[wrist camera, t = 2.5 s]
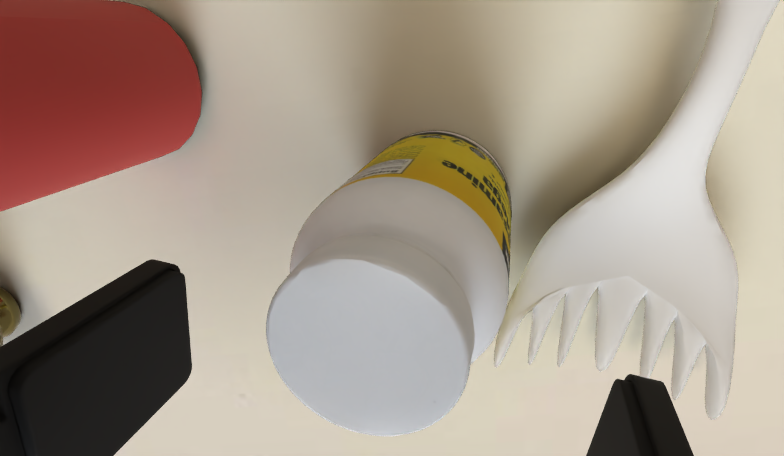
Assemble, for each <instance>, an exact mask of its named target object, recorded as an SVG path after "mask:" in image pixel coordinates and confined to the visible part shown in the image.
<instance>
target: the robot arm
mask: <svg viewBox="0 0 784 456" xmlns="http://www.w3.org/2000/svg"><path fill="white" fill-rule="evenodd" d="M191 369H192V362H191V349H190V336H189V323H188V310H187V297H186V284H185V277H184V275H183V274H182V273H180V269H179V268H178V266H176V265H174V264H170V263H166V262H162V261H158V260H148V261H146V262H144V263H143V264H141V265H139V266H138V267H136V268H134V269H133V270H131V271H129V272H127V273H126V274H124V275H122V276H121V277H119V278H117V279H116V280H114V281H112V282H110V283H109V284H107V285H105V286H104V287H102V288H100V289H99V290H97V291H95V292H93V293H92V294H90V295H88V296H87V297H85V298H83V299H82V300H80V301H78V302H76V303H75V304H73V305H71V306H70V307H68V308H66V309H65V310H63V311H61V312H59V313H58V314H56V315H54V316H53V317H51V318H49V319H48V320H46V321H44V322H42V323H41V324H39V325H37V326H36V327H34V328H32V329H31V330H29V331H27V332H25V333H24V334H22V335H20V336H19V337H17V338H15V339H14V340H12V341H10V342H8V343H7V344H5V345H3V346H2V347H0V456H113V455H114V454H115V453H116V452H117V451H118V450H119V449H120V448H121V447H122V446H123V445H124V444H125V443H126V442H127V441H128V440H129V439H130V438H131V437H132V436H133V435H134V434H135V433H136V432H137V431H138V430H139V429H140V428H141V427H142V426H143V425H144V424H145V423H146V422H147V421H148V420H149V419H150V418H151V417H152V416H153V415H154V414H155V413H156V412H157V411H158V410H159V409H160V408H161V407H162V406H163V405H164V404H165V403H166V402H167V401H168V400H169V399H170V398H171V397H172V396H173V395H174V394H175V393H176V392H177V391H178V390H179V389H180V388H181V387H182V386H183V385H184V383H185V382H186V381H187V380H188V378H189V376H190V373H191ZM586 456H694V455H693V453H692V450H691V448H690V445H689V443H688V441H687V438H686V436H685V433H684V431H683V428H682V426H681V423H680V421H679V418H678V416H677V413H676V411H675V409H674V406H673V404H672V401H671V399H670V396H669V394H668V391H667V389H666V387H665V385H664V383H663V382H661V381H657V380H653V379H649V378H644V377H640V376H636V375H632V374H629V375H628V376H627V377H626V378H625V380H620V379H616V380H615V381H614V383H613V386H612V388H611V391H610V394H609V396H608V399H607V402H606V404H605V407H604V410H603V412H602V415H601V418H600V420H599V423H598V426H597V428H596V431H595V434H594V437H593V439H592V442H591V445H590V447H589V450H588V453H587V455H586Z"/></svg>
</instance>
